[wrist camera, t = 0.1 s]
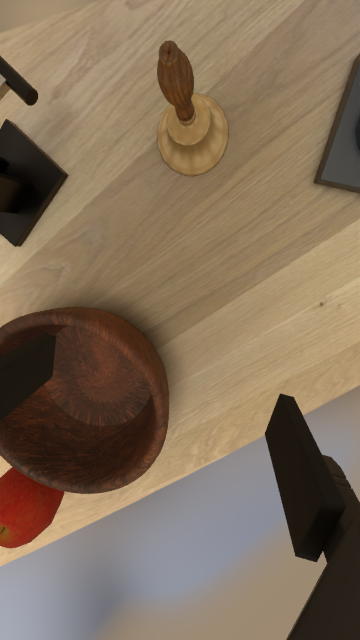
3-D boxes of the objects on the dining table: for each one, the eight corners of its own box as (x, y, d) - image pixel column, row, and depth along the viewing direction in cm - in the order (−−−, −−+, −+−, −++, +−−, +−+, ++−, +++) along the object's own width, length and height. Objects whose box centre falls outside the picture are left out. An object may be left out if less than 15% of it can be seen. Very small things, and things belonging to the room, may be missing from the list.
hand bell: (176, 188, 35) (146, 151, 20) (145, 120, 33) (86, 21, 18) (239, 153, 33) (260, 81, 18) (210, 79, 31) (204, -72, 16)
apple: (90, 467, 49) (43, 552, 36) (57, 495, 52) (3, 584, 39) (44, 429, 48) (-21, 502, 35) (13, 460, 51) (-58, 538, 37)
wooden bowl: (24, 425, 48) (-25, 473, 38) (20, 281, 41) (-42, 295, 31) (166, 455, 46) (153, 514, 37) (189, 310, 39) (181, 335, 29)
